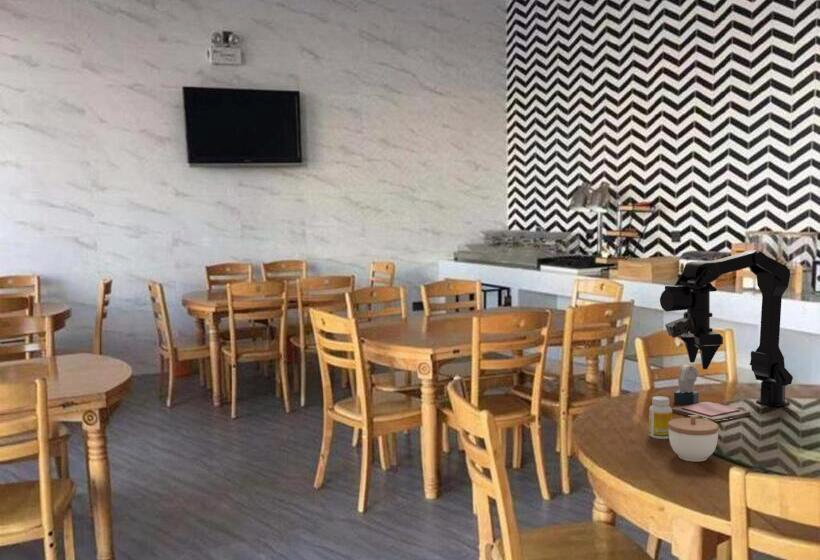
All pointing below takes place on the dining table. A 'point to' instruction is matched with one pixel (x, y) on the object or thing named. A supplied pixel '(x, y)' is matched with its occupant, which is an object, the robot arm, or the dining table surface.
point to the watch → (687, 386)
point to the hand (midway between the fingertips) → (698, 365)
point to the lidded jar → (693, 438)
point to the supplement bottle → (659, 417)
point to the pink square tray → (711, 411)
